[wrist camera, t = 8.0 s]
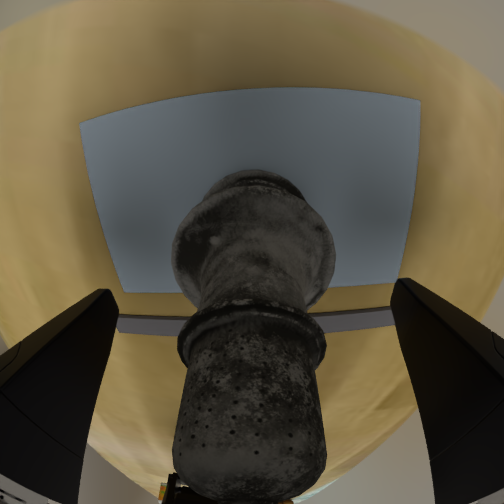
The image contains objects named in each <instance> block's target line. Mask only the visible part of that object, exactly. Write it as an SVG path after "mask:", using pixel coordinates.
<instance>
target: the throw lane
mask: <svg viewBox="0 0 504 504" xmlns="http://www.w3.org/2000/svg"><path fill="white" fill-rule="evenodd" d="M79 124H80V131H81V138H82V144H83V150H84V155H85V160H86V165H87V170H88V175H89V179H90V184H91V188H92V192H93V196H94V200H95V204H96V208H97V212H98V215H99V219H100V222H101V226H102V229H103V233H104V236H105V239H106V242H107V245H108V248H109V252H110V254H111V257H112V260H113V263H114V266H115V269H116V272H117V274H118V277H119V280H120V283H121V285H122V288H123V290H124V292H131V293H183V292H182V290H181V289H180V287H179V285H178V284H177V282H176V280H175V276H174V273H173V269H172V265H171V251H172V242H173V240H174V237H175V234H176V232H177V229H178V227H179V224H180V223H181V222H182V221H183V219H184V218H185V217H186V216H187V214H188V213H189V212H190V211H191V209H192V208H193V207H195V206H196V205H197V204H199V203H200V202H202V200H203V198H204V196H205V194H206V193H207V192H208V191H209V190H210V189H211V187H212V186H213V185H214V184H215V183H217V182H218V181H220V180H221V179H223V178H224V177H226V176H227V175H230V174H233V173H236V172H239V171H242V170H263V171H268V172H273V173H276V174H278V175H280V176H282V177H284V178H286V179H288V180H289V181H290V182H291V183H292V184H293V185H295V186H296V187H297V188H298V189H299V190H300V192H301V193H302V195H303V197H304V198H305V200H306V202H307V203H308V204H309V205H310V206H311V207H312V208H313V209H314V210H315V211H316V212H317V213H318V214H319V215H320V216H322V218H323V220H324V222H325V223H326V225H327V227H328V229H329V230H330V232H331V234H332V236H333V241H334V246H335V251H336V261H335V270H334V274H333V277H332V279H331V282H330V284H329V286H328V288H329V287H344V286H358V285H370V284H382V283H393V282H396V280H397V277H398V274H399V270H400V266H401V261H402V257H403V253H404V248H405V244H406V239H407V234H408V229H409V223H410V218H411V212H412V205H413V199H414V192H415V184H416V175H417V165H418V153H419V138H420V100H416V99H411V98H405V97H400V96H394V95H388V94H381V93H374V92H365V91H356V90H345V89H331V88H306V87H279V88H254V89H240V90H228V91H219V92H210V93H203V94H196V95H189V96H183V97H177V98H172V99H167V100H162V101H157V102H152V103H148V104H143V105H139V106H135V107H131V108H127V109H123V110H120V111H116V112H113V113H109V114H106V115H103V116H99V117H96V118H93V119H90V120H87V121H84V122H81V123H79ZM308 315H309V316H311V317H312V318H314V319H315V320H316V322H317V323H318V324H319V326H320V327H321V328H322V330H323V332H324V333H331V332H341V331H351V330H360V329H369V328H376V327H384V326H391V325H395V322H394V318H393V314H392V310H391V306H390V307H381V308H372V309H363V310H352V311H341V312H329V313H315V314H308ZM190 318H191V317H164V316H137V315H119V317H118V321H117V325H116V327H117V329H118V331H119V332H120V333H131V334H145V335H162V336H178V335H179V333H180V331H181V329H182V327H183V325H184V323H185V322H186V321H187V320H188V319H190Z"/></svg>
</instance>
